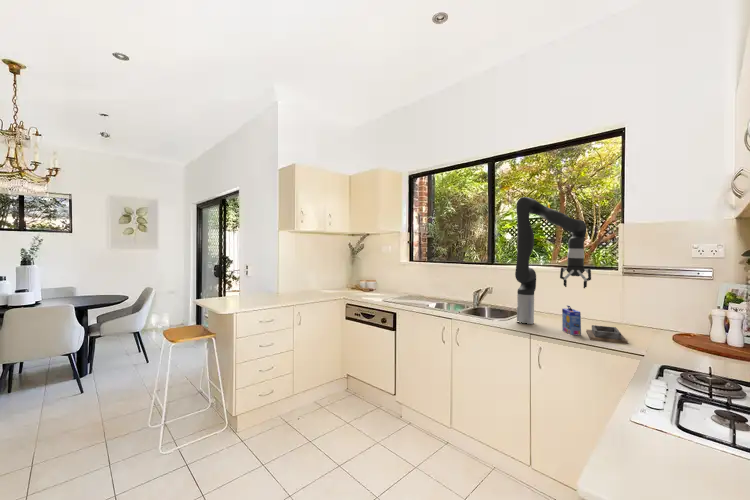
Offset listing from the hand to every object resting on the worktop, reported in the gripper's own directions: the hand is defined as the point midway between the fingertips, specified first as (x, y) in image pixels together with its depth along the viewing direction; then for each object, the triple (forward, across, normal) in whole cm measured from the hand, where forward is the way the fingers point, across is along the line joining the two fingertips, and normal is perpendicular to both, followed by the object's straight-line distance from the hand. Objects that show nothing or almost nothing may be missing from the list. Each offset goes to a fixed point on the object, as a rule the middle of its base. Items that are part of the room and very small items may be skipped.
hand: (574, 287), depth 179 cm
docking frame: (+24, +14, -3) cm, 28 cm away
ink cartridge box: (+24, -1, -2) cm, 24 cm away
